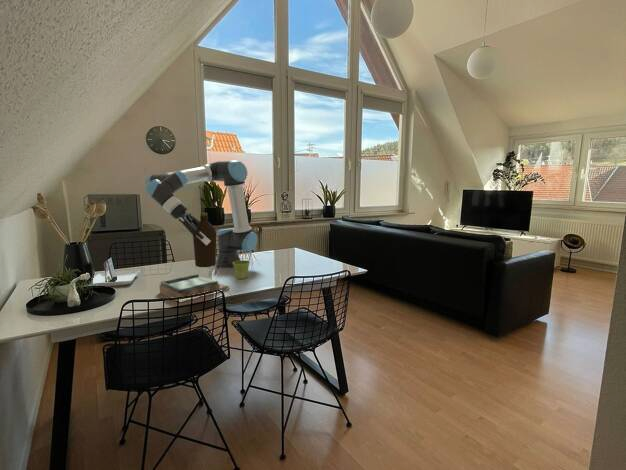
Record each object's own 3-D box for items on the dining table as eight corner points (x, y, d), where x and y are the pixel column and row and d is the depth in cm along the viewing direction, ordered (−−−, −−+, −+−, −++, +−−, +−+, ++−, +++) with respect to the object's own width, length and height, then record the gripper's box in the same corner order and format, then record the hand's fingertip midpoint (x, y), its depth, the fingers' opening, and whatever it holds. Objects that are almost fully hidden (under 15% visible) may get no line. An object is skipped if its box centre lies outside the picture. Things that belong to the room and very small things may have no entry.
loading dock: (207, 281, 181) (206, 271, 180) (228, 289, 168) (228, 278, 167) (159, 292, 163) (159, 281, 162) (179, 302, 150) (179, 290, 149)
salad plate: (85, 290, 168) (84, 283, 168) (99, 278, 189) (98, 272, 188) (132, 286, 174) (132, 280, 173) (141, 275, 194) (140, 269, 194)
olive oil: (217, 267, 160) (215, 213, 156) (193, 268, 157) (191, 214, 154) (217, 262, 170) (215, 211, 166) (194, 263, 167) (192, 212, 164)
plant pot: (246, 280, 183) (246, 264, 182) (230, 279, 185) (229, 263, 184) (253, 275, 192) (252, 260, 191) (237, 274, 194) (236, 260, 193)
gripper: (177, 211, 170) (210, 242, 174) (161, 216, 147) (199, 251, 151) (188, 201, 170) (221, 232, 173) (173, 203, 147) (211, 239, 151)
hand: (211, 241), depth 162 cm, fingers closed on olive oil, 10 cm apart
